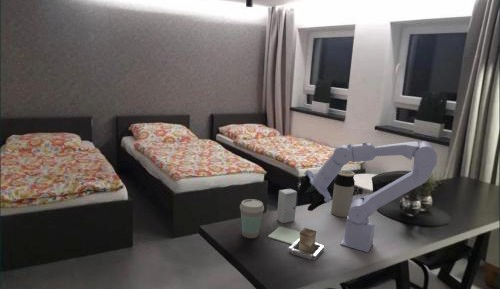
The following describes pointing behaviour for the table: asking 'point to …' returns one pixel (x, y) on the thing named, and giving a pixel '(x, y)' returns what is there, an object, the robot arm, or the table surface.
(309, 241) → the maple peg
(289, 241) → the pad
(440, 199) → the table surface
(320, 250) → the metal collar
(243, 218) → the coffee cup
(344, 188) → the travel mug
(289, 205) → the skincare box
